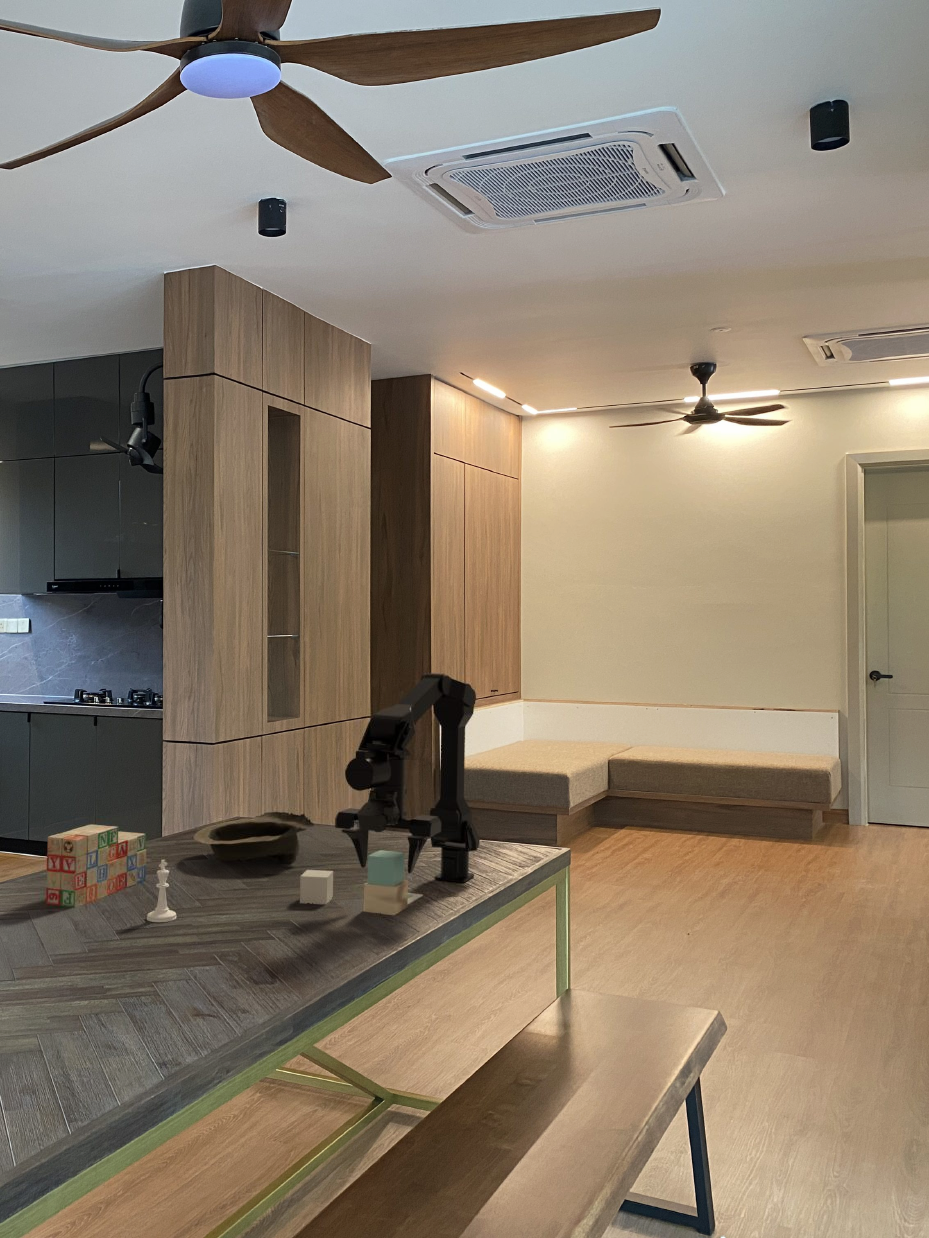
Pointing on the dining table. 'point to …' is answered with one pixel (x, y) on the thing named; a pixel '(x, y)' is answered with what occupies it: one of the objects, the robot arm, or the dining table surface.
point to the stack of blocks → (93, 864)
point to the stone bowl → (256, 837)
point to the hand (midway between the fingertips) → (386, 869)
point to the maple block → (385, 898)
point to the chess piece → (162, 899)
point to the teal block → (386, 868)
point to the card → (413, 897)
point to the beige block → (316, 887)
